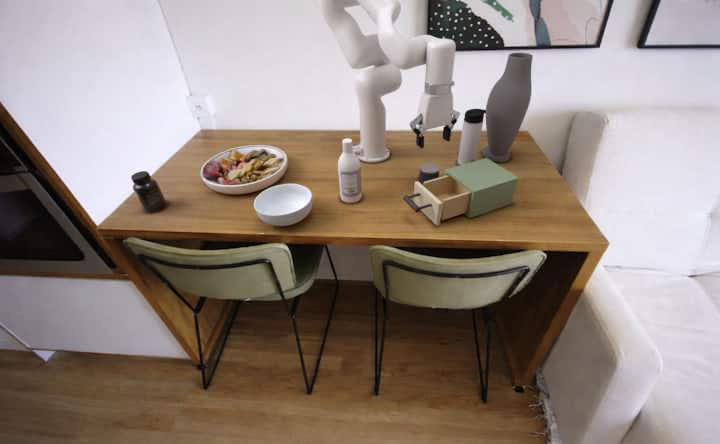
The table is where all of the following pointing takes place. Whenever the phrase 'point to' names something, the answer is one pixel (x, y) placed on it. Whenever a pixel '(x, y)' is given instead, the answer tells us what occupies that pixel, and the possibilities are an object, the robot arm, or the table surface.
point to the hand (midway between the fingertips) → (433, 143)
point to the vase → (508, 106)
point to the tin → (428, 172)
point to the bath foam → (349, 174)
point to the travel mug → (470, 136)
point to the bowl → (244, 169)
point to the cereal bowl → (283, 204)
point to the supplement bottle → (148, 192)
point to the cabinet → (485, 185)
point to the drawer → (440, 198)
